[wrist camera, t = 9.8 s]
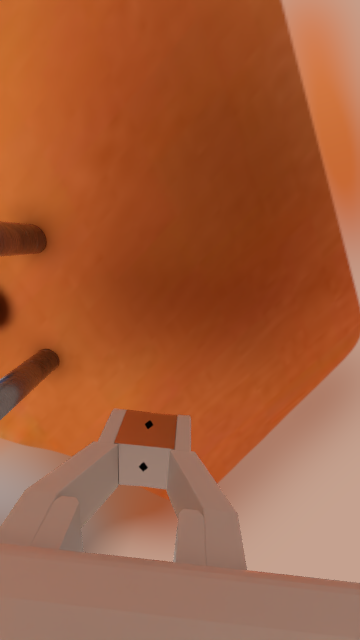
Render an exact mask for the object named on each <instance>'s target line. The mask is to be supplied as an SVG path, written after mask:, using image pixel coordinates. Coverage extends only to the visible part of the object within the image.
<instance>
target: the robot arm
mask: <svg viewBox="0 0 360 640" xmlns="http://www.w3.org/2000/svg"><path fill="white" fill-rule="evenodd" d="M118 484H119V485H133V486H145V487H152V488H159V489H167V493H168V496H169V498H170V501H171V503H172V506H173V508H174V510H175V513H176V515H177V518H178V526H177V534H176V543H175V552H174V560H173V562H167V561H159V560H149V559H141V558H132V557H123V556H114V555H105V554H95V553H86V552H83V542H82V532H81V528H82V527H83V526H84V525H85V524H86V523H87V521H88V520H89V519H90V518H91V517H92V516H93V515H94V513H95V512H96V511H97V510H98V509H99V508H100V507H101V505H102V504H103V503H104V502H105V501H106V500H107V499H108V497H109V496H110V495H111V494H112V493H113V492H114V490H115V489H116V488H117V487H118ZM245 562H246V561H245V555H244V550H243V543H242V538H241V531H240V525H239V520H238V514H237V512H236V511H235V509H234V508H233V506H232V505H231V503H230V502H229V501H228V499H227V498H226V496H225V495H224V493H223V492H222V491H221V489H220V487H219V486H218V485H217V483H216V482H215V480H214V479H213V477H212V476H211V474H210V473H209V472H208V470H207V469H206V467H205V466H204V464H203V463H202V461H201V460H200V459H199V457H198V456H197V454H196V453H195V452H191V417H190V416H187V415H178V416H177V415H172V414H161V413H150V412H142V411H134V410H124V409H116V408H115V409H114V410H113V411H112V412H111V415H110V417H109V419H108V421H107V423H106V425H105V427H104V429H103V431H102V434H101V436H100V438H99V440H98V442H92V443H91V444H89V445H88V446H87V447H85V448H84V449H82V450H81V451H80V452H78V453H77V454H75V455H74V456H73V457H71V458H70V459H68V460H67V461H66V462H64V463H63V464H61V465H60V466H58V467H57V468H56V469H54V470H53V471H51V472H50V473H49V474H47V475H46V476H45V477H43V478H42V479H40V480H39V481H37V482H36V483H35V484H33V485H32V486H30V487H29V488H27V489H26V490H25V491H24V493H23V494H22V496H21V497H20V499H19V500H18V502H17V503H16V505H15V506H14V507H13V509H12V510H11V512H10V513H9V515H8V516H7V518H6V519H5V521H4V522H3V524H2V525H1V527H0V640H360V583H356V582H347V581H338V580H329V579H319V578H311V577H302V576H293V575H284V574H275V573H265V572H257V571H248V570H247V567H246V563H245Z"/></svg>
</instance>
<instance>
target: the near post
mask: <svg viewBox="0 0 360 640" xmlns="http://www.w3.org/2000/svg"><path fill="white" fill-rule="evenodd" d="M45 246H46V238H45V235H44V233H43V231H42V230H41V229H40V228H39V227H37V226H35V225H31V224H22V223H12V222H1V221H0V256H11V255H23V254H35V253H40V252H42V251H43V250H44V248H45Z"/></svg>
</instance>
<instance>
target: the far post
mask: <svg viewBox="0 0 360 640" xmlns="http://www.w3.org/2000/svg"><path fill="white" fill-rule="evenodd" d="M58 364H59V359H58V356H57V355H56V354H55V353H54V352H53V351H51V350H48V349H43V350H40V351H39V352H37V353H36V354H35V355H33V356H32V357H30V358H29V359H28V360H26V361H25V362H23V363H22V364H21V365H19V366H18V367H17V368H15V369H14V370H12V371H11V372H10V373H8V374H7V375H5V376H4V377H3V378H1V379H0V420H1V419H2V418H3V417H4V416H5V415H6V414H7V413H8V412H9V411H10V410H12V409H13V408H14V407H15V406H16V405H17V404H18V403H19V402H20V401H21V400H22V399H23V398H24V397H25V396H27V395H28V394H29V393H30V392H31V391H32V390H33V389H34V388H35V387H36V386H37V385H38V384H39V383H40V382H41V381H43V380H44V379H45V378H46V377H47V376H48V375H49V374H50V373H51V372H52V371H53V370H54V369H55V368H56V367H57V366H58Z"/></svg>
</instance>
